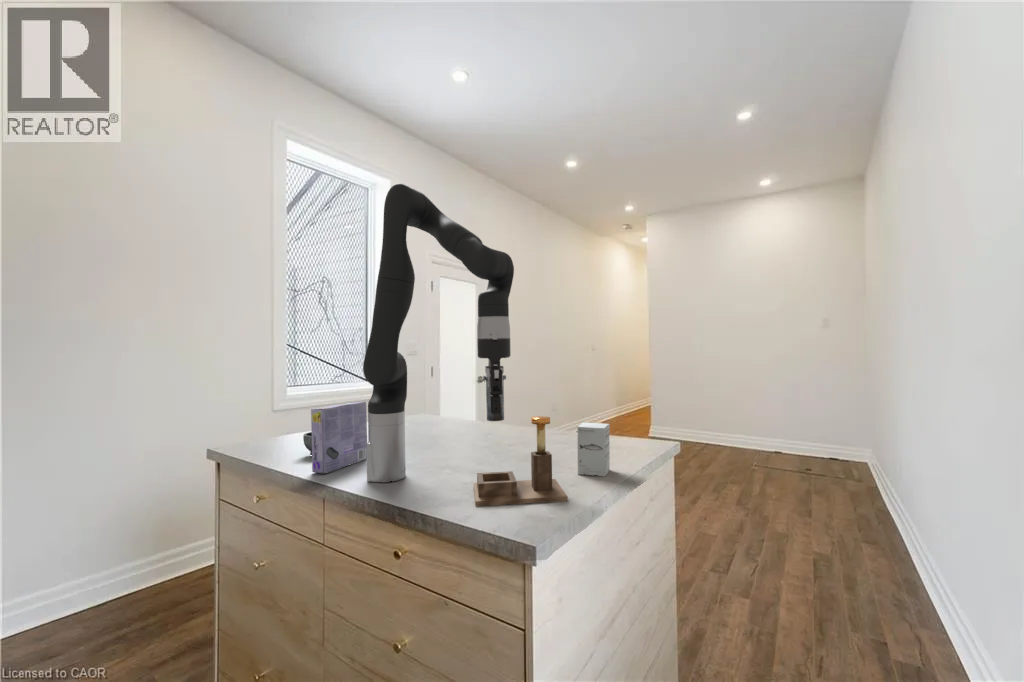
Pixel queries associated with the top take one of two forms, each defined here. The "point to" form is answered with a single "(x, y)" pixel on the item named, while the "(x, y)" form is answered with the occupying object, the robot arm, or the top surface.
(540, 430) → the lock pin
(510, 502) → the dock mount
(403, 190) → the robot arm
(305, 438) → the mortar and pestle
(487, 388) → the spigot
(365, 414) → the cake pan box
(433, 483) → the top surface
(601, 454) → the supplement box
